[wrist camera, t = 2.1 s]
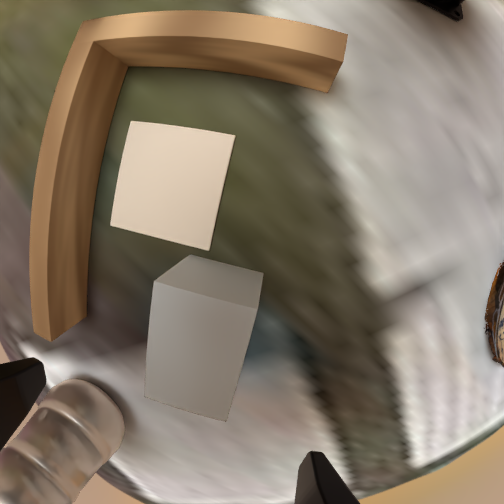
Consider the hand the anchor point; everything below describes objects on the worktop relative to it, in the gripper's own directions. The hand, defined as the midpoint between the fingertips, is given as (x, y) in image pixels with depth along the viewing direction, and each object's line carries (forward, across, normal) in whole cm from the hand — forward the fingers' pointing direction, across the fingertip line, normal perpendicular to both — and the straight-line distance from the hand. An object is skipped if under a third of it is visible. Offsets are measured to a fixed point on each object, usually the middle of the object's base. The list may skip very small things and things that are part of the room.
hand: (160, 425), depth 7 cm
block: (+9, 0, 0) cm, 9 cm away
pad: (+9, +4, -6) cm, 12 cm away
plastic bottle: (+9, +8, +11) cm, 16 cm away
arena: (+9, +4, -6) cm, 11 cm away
